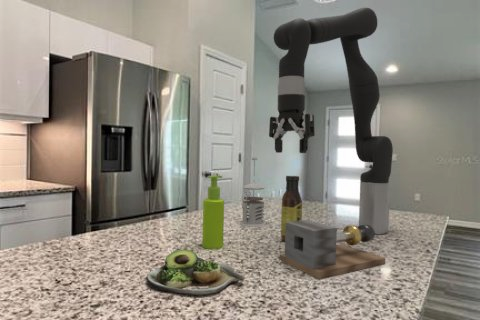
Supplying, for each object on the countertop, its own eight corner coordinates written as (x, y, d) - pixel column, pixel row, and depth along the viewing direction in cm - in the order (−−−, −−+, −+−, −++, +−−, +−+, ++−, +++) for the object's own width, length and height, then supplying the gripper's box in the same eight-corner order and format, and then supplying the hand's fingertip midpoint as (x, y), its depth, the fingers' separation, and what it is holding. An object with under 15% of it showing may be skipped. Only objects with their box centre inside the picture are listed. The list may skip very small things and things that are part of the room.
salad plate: (257, 273, 77) (257, 253, 77) (224, 307, 60) (225, 281, 60) (182, 261, 84) (182, 243, 84) (134, 288, 68) (135, 265, 67)
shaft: (359, 239, 94) (360, 221, 94) (375, 244, 90) (376, 225, 90) (304, 249, 84) (304, 228, 84) (318, 254, 80) (319, 233, 79)
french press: (270, 223, 129) (272, 157, 128) (255, 229, 119) (257, 157, 118) (248, 220, 134) (250, 156, 133) (231, 225, 124) (233, 156, 124)
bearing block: (341, 249, 97) (342, 214, 97) (385, 263, 85) (386, 223, 85) (279, 260, 86) (280, 220, 86) (319, 279, 74) (320, 232, 73)
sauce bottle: (300, 243, 102) (302, 176, 101) (279, 242, 103) (281, 176, 102) (301, 238, 108) (303, 175, 108) (281, 236, 109) (283, 174, 109)
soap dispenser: (227, 243, 100) (229, 175, 99) (218, 250, 93) (219, 176, 93) (209, 241, 102) (210, 174, 101) (198, 247, 95) (200, 175, 95)
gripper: (320, 93, 93) (319, 153, 94) (280, 98, 103) (279, 152, 104) (303, 90, 88) (302, 153, 89) (263, 95, 98) (262, 152, 99)
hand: (290, 152), depth 96 cm, fingers open, 8 cm apart
